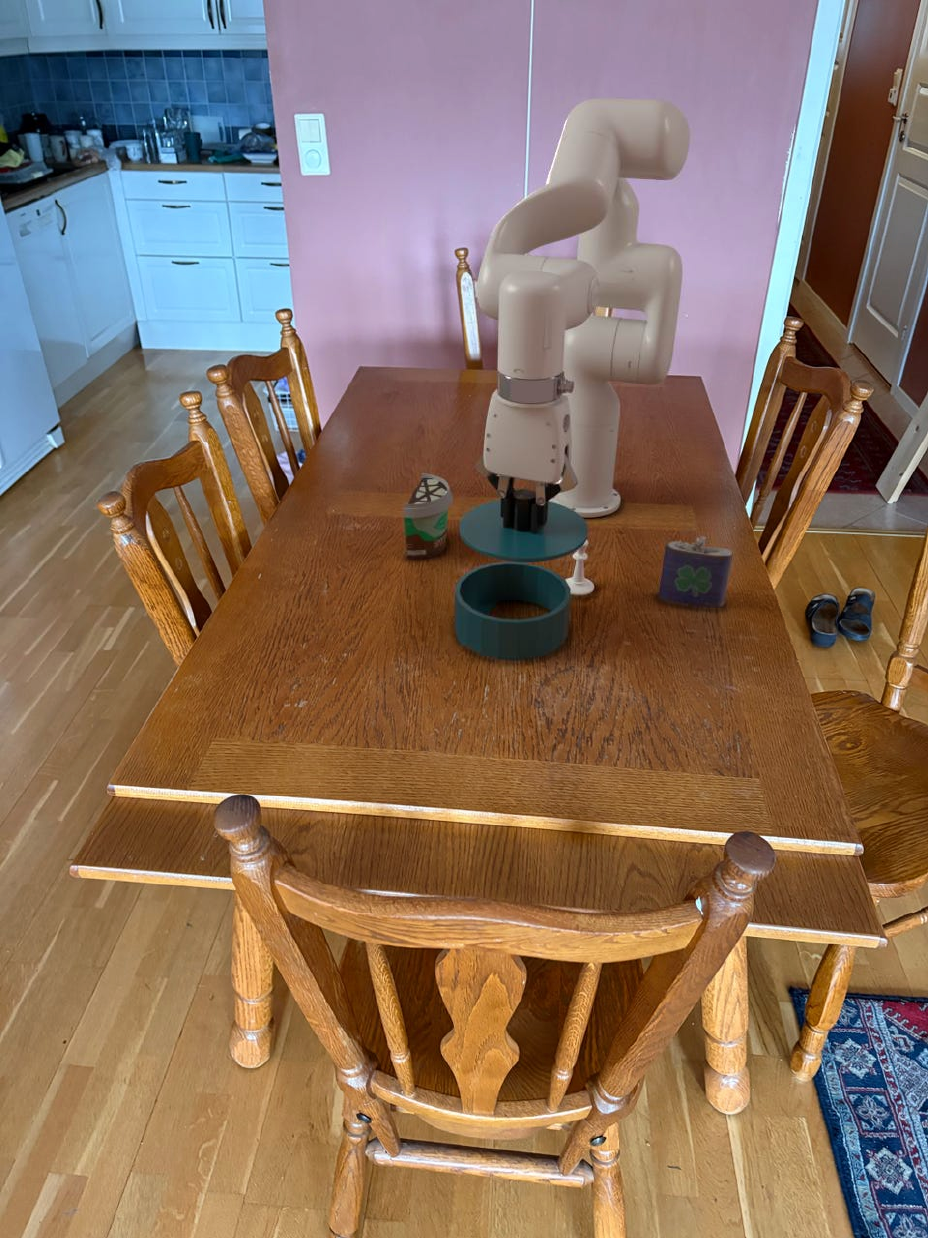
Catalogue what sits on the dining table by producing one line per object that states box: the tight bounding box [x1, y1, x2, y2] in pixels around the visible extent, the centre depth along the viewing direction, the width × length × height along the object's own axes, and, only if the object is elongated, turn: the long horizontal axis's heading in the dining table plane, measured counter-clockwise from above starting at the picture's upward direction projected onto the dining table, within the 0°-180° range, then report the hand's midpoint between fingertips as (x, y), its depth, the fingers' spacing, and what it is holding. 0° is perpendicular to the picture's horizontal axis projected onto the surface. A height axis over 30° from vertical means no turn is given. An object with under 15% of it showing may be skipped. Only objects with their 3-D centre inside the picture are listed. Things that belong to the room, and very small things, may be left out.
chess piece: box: [565, 535, 595, 596], centre depth 132 cm, size 5×5×10 cm
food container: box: [402, 472, 454, 561], centre depth 143 cm, size 12×6×10 cm, turn 168°
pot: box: [454, 561, 572, 661], centre depth 124 cm, size 15×15×6 cm
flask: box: [658, 535, 733, 608], centre depth 129 cm, size 9×3×11 cm, turn 74°
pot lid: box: [458, 488, 589, 563], centre depth 116 cm, size 16×16×6 cm
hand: (523, 524), depth 116 cm, fingers closed on pot lid, 3 cm apart
